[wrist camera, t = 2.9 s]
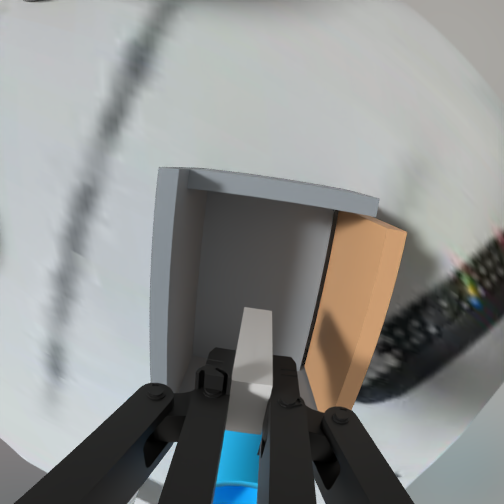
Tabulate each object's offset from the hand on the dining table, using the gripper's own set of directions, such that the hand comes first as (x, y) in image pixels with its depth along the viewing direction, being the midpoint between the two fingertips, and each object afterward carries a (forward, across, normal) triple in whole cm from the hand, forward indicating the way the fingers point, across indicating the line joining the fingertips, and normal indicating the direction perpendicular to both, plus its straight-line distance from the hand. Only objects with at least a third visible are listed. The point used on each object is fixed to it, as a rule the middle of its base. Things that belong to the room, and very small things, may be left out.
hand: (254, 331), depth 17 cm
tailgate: (+7, +6, 0) cm, 9 cm away
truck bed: (+8, 0, 0) cm, 8 cm away
